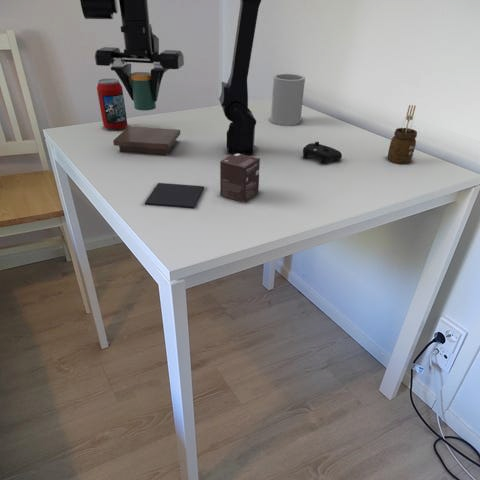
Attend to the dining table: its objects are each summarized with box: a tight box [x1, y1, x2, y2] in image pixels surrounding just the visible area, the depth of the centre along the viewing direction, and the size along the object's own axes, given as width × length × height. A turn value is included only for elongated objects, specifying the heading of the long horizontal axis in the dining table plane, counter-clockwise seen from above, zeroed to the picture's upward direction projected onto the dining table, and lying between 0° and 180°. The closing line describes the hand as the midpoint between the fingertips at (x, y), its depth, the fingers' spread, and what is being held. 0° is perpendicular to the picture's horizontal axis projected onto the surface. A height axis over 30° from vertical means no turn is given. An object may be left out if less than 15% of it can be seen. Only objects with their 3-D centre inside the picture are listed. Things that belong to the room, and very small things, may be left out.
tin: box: [130, 71, 157, 112], centre depth 98 cm, size 5×5×7 cm
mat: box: [144, 182, 205, 209], centre depth 88 cm, size 10×10×1 cm
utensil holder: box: [387, 104, 418, 165], centre depth 103 cm, size 6×6×12 cm
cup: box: [270, 73, 306, 127], centre depth 127 cm, size 9×9×12 cm
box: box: [219, 153, 261, 203], centre depth 87 cm, size 6×6×7 cm
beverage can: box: [96, 78, 128, 131], centre depth 118 cm, size 7×7×12 cm
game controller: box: [302, 141, 343, 164], centre depth 106 cm, size 10×5×6 cm
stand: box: [112, 125, 181, 156], centre depth 109 cm, size 14×12×3 cm
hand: (144, 100), depth 100 cm, fingers closed on tin, 5 cm apart
